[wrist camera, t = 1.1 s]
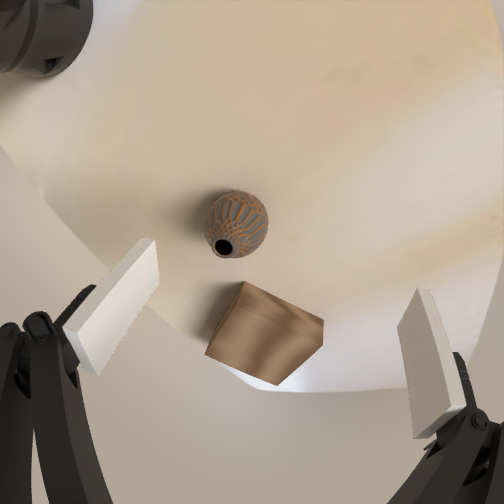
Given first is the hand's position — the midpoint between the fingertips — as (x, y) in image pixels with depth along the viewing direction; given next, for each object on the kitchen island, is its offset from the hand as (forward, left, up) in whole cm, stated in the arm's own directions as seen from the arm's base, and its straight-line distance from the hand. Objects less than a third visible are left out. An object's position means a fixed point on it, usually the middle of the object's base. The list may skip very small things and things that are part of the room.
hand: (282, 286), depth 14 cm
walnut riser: (+7, -24, -21) cm, 33 cm away
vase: (-4, -8, -21) cm, 23 cm away
